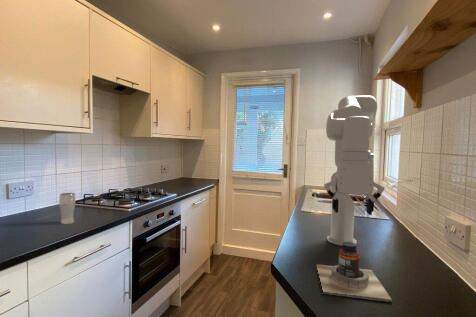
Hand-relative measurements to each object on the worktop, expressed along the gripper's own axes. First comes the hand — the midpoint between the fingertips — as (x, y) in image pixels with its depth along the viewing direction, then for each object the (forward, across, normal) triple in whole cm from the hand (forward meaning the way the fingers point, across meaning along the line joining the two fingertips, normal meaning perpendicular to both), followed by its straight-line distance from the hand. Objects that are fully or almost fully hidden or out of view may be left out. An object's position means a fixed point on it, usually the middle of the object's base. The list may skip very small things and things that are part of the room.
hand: (352, 212), depth 83 cm
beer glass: (+22, +131, -32) cm, 137 cm away
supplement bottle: (+21, 0, 0) cm, 21 cm away
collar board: (+22, 0, 0) cm, 22 cm away
